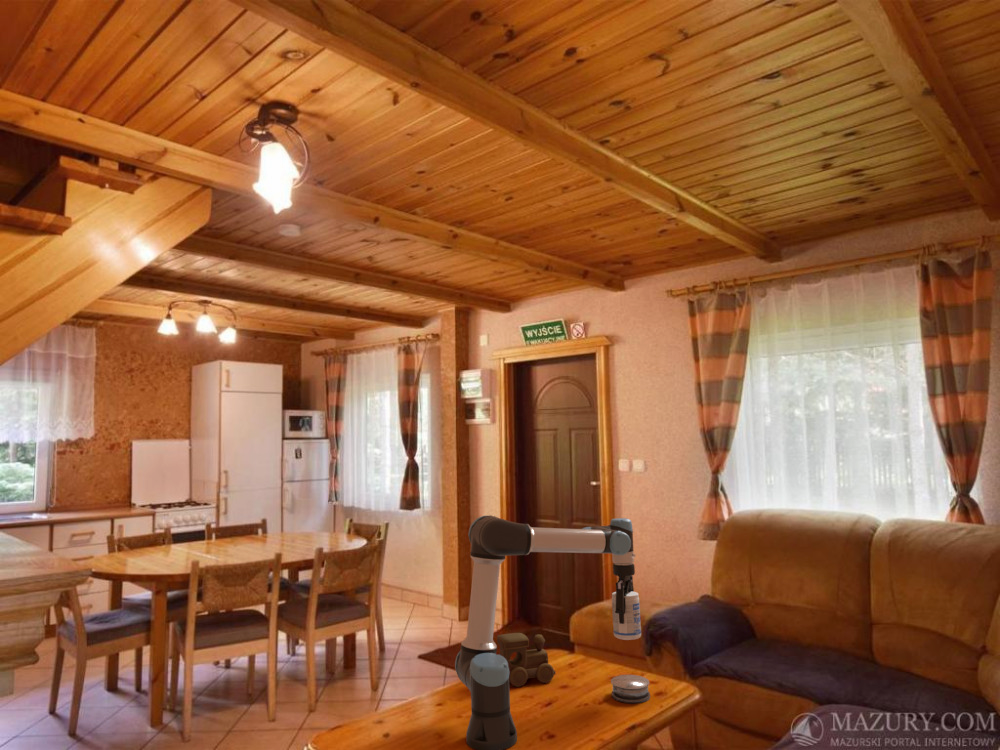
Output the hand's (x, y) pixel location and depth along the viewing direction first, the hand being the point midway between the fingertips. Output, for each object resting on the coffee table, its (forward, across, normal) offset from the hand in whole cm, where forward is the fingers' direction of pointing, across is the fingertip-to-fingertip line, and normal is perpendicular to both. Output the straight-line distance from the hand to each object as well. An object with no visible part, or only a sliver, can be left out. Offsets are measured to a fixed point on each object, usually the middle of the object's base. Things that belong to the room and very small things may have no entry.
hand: (626, 628), depth 229 cm
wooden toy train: (+23, +1, +40) cm, 46 cm away
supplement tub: (+3, 0, 0) cm, 3 cm away
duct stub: (+23, 0, 0) cm, 23 cm away
